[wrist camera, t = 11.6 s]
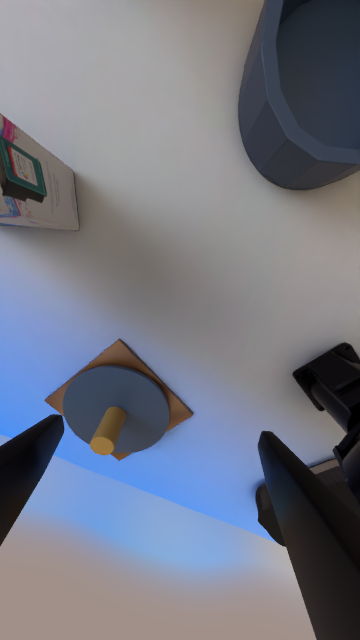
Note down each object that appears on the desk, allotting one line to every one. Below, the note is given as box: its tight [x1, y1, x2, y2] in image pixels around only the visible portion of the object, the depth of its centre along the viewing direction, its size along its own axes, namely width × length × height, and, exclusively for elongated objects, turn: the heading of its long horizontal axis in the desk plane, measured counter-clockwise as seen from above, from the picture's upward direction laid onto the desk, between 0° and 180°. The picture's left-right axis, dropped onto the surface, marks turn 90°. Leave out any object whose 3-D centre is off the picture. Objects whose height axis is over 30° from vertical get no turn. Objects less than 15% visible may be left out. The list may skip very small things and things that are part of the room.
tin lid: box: [62, 365, 170, 455], centre depth 21 cm, size 13×13×5 cm
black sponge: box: [255, 459, 360, 547], centre depth 26 cm, size 16×8×4 cm, turn 122°
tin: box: [239, 0, 360, 190], centre depth 12 cm, size 12×12×5 cm
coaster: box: [44, 339, 193, 460], centre depth 24 cm, size 13×13×1 cm
